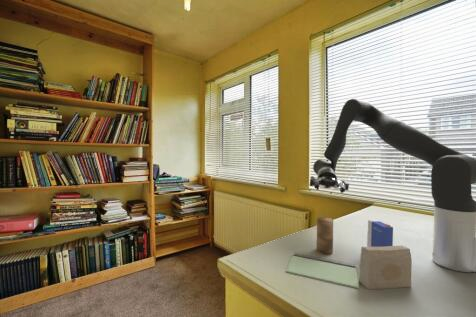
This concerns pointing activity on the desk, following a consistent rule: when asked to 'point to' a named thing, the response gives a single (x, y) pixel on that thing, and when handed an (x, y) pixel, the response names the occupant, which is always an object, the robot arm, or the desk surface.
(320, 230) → the spiral cardboard tube
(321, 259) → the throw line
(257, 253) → the desk surface
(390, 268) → the fossil
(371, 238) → the walkman
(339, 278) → the mat
